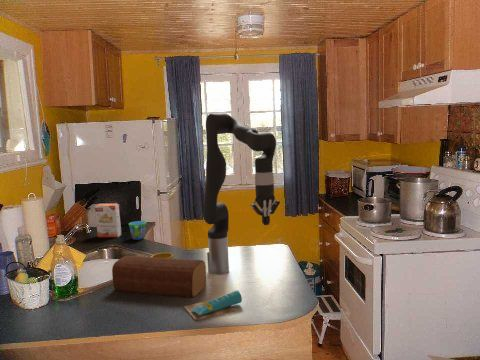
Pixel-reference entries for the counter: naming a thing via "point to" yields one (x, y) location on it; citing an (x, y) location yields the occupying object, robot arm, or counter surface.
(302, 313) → the counter surface
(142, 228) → the snack cup
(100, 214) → the cracker box
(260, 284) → the counter surface
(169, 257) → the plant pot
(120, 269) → the bread
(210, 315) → the cork mat
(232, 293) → the tube
